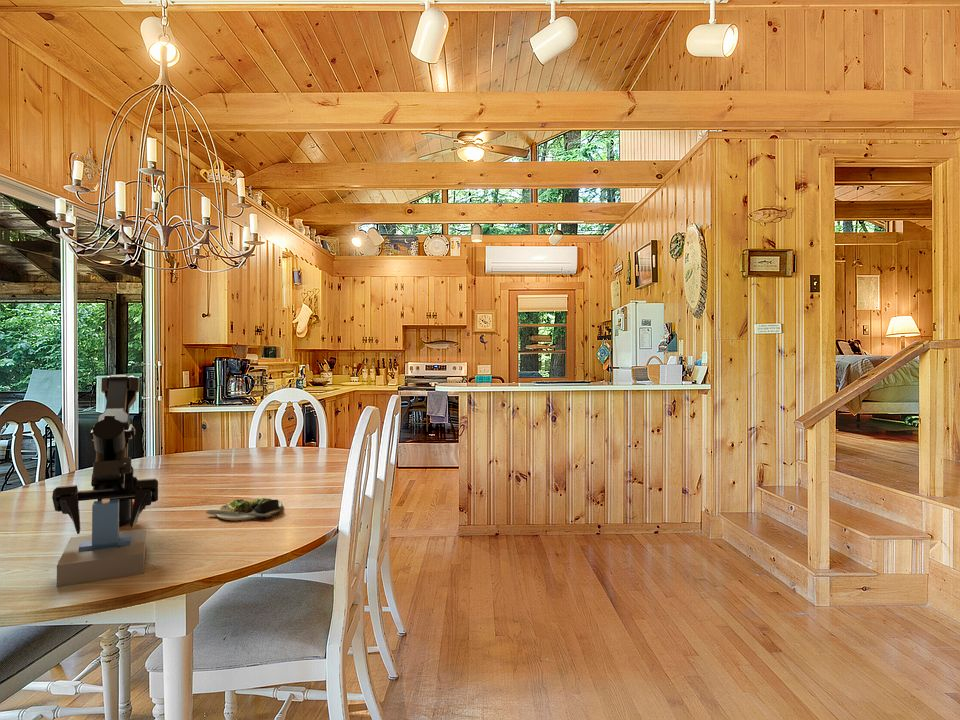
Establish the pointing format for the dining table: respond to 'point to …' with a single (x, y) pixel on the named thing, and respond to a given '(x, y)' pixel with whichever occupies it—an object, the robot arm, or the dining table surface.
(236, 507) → the salad plate
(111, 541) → the servo
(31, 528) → the dining table surface
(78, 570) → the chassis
